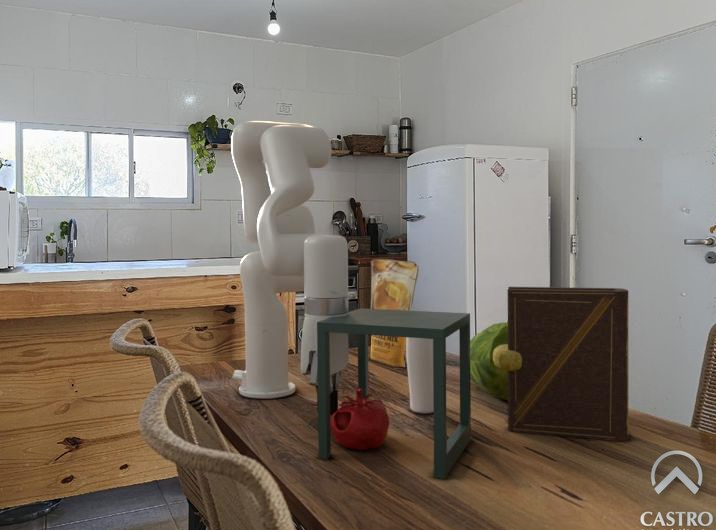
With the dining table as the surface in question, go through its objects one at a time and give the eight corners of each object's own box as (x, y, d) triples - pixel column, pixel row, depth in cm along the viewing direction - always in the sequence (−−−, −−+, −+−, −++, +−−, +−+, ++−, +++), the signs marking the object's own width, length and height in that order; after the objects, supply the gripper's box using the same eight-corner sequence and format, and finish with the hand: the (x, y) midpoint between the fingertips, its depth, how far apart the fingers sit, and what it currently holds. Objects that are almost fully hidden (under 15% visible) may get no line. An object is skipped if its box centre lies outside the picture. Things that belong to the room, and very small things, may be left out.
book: (623, 428, 106) (623, 287, 105) (631, 444, 98) (631, 292, 97) (494, 417, 113) (493, 285, 113) (492, 431, 105) (491, 290, 105)
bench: (318, 458, 94) (316, 321, 93) (361, 424, 110) (360, 308, 109) (444, 479, 85) (443, 329, 85) (470, 439, 101) (470, 313, 101)
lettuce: (480, 410, 139) (514, 353, 144) (545, 421, 117) (582, 354, 122) (427, 366, 137) (463, 310, 142) (483, 370, 115) (523, 303, 120)
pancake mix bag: (381, 354, 173) (380, 258, 173) (421, 367, 157) (420, 260, 156) (361, 357, 170) (360, 259, 169) (400, 370, 153) (399, 261, 153)
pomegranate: (385, 432, 105) (384, 380, 105) (393, 453, 95) (393, 395, 95) (329, 434, 105) (328, 381, 105) (331, 455, 95) (331, 397, 95)
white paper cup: (441, 416, 114) (440, 338, 114) (405, 414, 116) (404, 337, 115) (441, 406, 121) (440, 332, 120) (407, 404, 122) (406, 331, 122)
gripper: (326, 301, 110) (327, 399, 111) (285, 311, 97) (286, 423, 98) (363, 303, 107) (364, 404, 108) (326, 313, 94) (328, 429, 94)
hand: (327, 413), depth 103 cm, fingers closed
